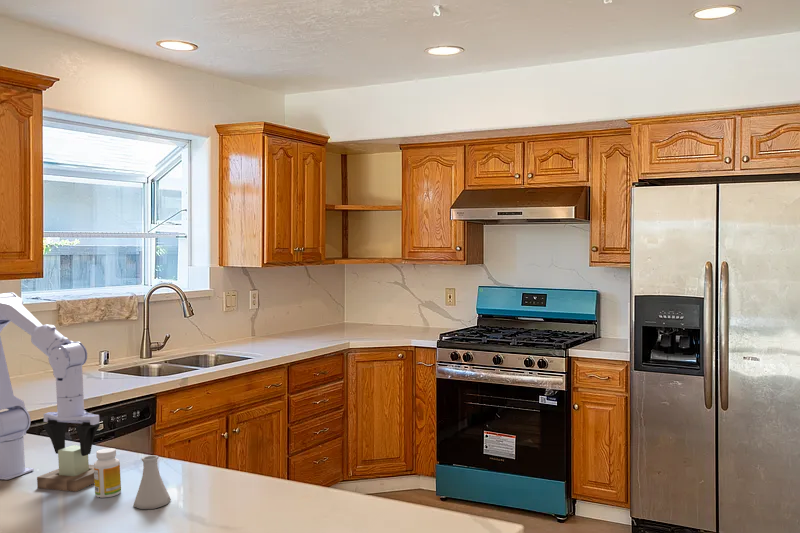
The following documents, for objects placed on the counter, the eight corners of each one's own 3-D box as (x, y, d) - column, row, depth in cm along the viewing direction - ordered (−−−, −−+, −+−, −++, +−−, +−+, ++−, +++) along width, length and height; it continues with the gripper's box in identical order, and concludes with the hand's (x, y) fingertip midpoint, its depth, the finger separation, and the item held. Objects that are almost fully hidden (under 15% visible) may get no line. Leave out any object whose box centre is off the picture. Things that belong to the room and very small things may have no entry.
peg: (59, 484, 176) (57, 450, 176) (74, 478, 180) (72, 445, 180) (75, 486, 175) (73, 451, 174) (89, 480, 179) (87, 446, 179)
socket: (37, 487, 174) (36, 477, 174) (73, 473, 185) (72, 463, 184) (75, 491, 170) (75, 480, 170) (110, 476, 181) (109, 466, 181)
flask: (177, 499, 163) (175, 453, 162) (155, 511, 156) (153, 463, 155) (148, 497, 165) (146, 451, 165) (126, 508, 158) (124, 461, 158)
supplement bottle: (125, 490, 170) (123, 446, 170) (114, 498, 165) (112, 453, 165) (102, 490, 171) (100, 447, 171) (90, 498, 166) (88, 453, 165)
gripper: (107, 393, 178) (110, 450, 179) (58, 390, 183) (61, 447, 183) (85, 399, 171) (88, 459, 172) (35, 396, 176) (38, 455, 177)
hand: (72, 453), depth 177 cm, fingers open, 7 cm apart
